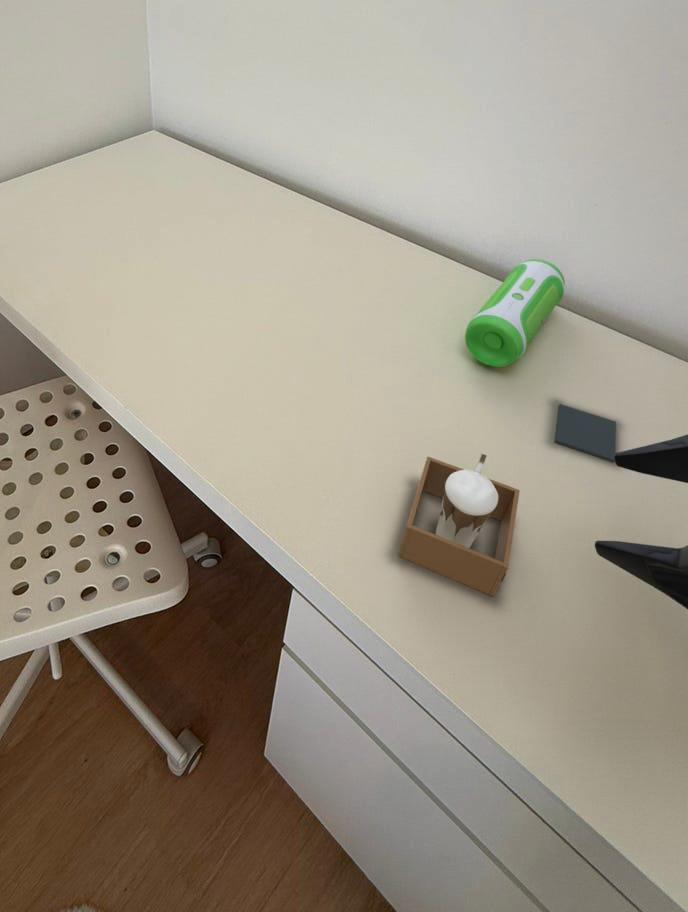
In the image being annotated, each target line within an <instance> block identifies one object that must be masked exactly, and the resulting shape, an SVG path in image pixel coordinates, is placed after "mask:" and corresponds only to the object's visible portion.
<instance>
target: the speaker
mask: <svg viewBox="0 0 688 912" xmlns="http://www.w3.org/2000/svg"><path fill="white" fill-rule="evenodd" d="M565 281H566V280H565V277H564V274H563V273H562V271H561V269H559V268H558V267H557V266H556V265H555V264H553V263H552V262H549V261H547V260H544V259H539V258H538V259H537V258H535V259H533V258H532V259H529V260H525V261H523V262H521V263H519V264H517V265H515V267H514V268H512V269H511V270H510V272H509V274H508V276H507V277H506V278H505V279H504V280H503V282H502V283H501V284H500V285H499V287H498V288H497V289H496V290H495V292H494V293H493V294H492V295H491V296H490V297H489V298H488V299H487V301H486V302H485V303H484V305H482V307H481V308H480V309H479V310H478V312H477V313H475V314H474V315H473V316H472V317H471V318H470V320H469V322H468V324H467V327H466V330H465V334H464V341H465V342H464V343H465V345H466V347H467V350H468V351H469V352H470V354H471V355H472V356H473V358H475V359H476V360H478V361H479V362H481V363H483V365H487V366H490V367H496V368H499V367H500V368H502V367H507V366H508V365H510V364H512V363H514V362H516V361H517V360H519V359H520V358H521V357H522V356H523V355H524V354H525V353H526V351H527V349H528V346H529V344H530V343H531V341H532V340H533V339H534V337H535V336H536V334H537V333H538V331H539V329H540V328H541V327H542V326H543V324H544V323H545V321H546V320H547V319H548V317H549V316H550V315H551V313H552V312H553V310H554V309H555V307H556V306H558V305H559V303H560V302H561V301H562V299H563V296H564V293H565V292H564V291H565V286H566V285H565V284H566V283H565Z"/></svg>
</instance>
